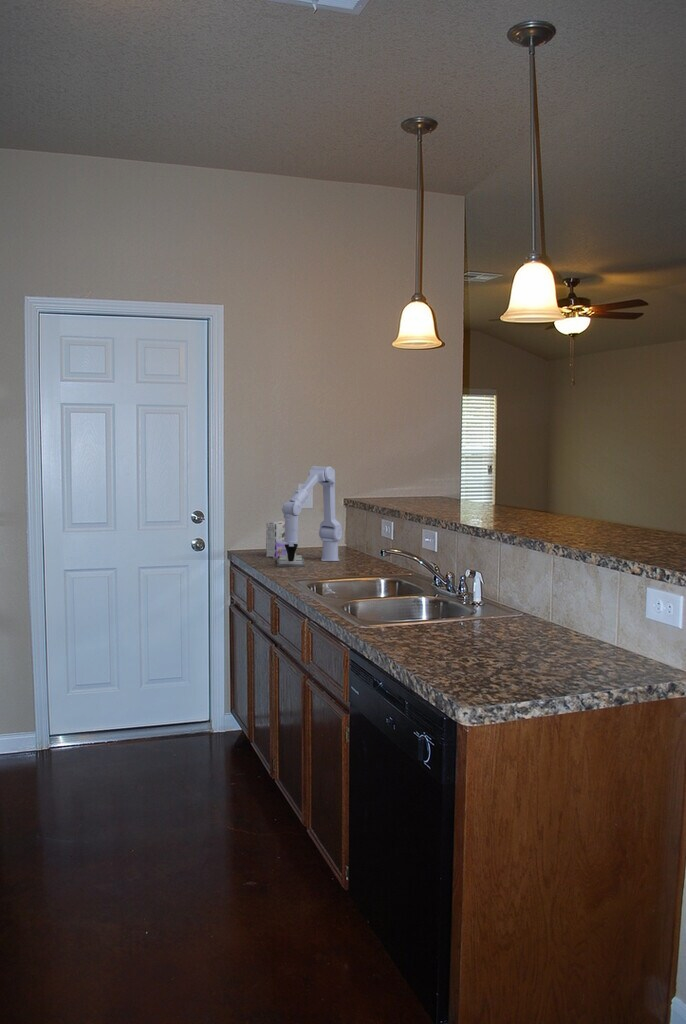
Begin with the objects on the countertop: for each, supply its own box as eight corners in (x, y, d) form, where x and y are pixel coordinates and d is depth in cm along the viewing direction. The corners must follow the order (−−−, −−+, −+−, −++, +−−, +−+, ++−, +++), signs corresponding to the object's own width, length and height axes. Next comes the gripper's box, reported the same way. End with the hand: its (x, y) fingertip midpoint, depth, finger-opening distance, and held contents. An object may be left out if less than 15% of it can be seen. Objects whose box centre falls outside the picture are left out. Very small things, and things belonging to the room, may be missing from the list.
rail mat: (277, 559, 362) (277, 555, 362) (303, 560, 363) (304, 555, 363) (276, 566, 344) (277, 561, 344) (304, 566, 345) (304, 561, 345)
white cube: (285, 561, 351) (285, 551, 350) (295, 561, 351) (296, 551, 350) (285, 562, 346) (285, 552, 346) (295, 562, 346) (296, 552, 346)
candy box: (284, 554, 381) (285, 519, 380) (294, 555, 378) (294, 520, 376) (265, 557, 370) (266, 522, 369) (275, 558, 367) (275, 522, 365)
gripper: (282, 527, 348) (281, 558, 349) (281, 531, 334) (281, 563, 335) (298, 527, 348) (297, 558, 350) (298, 531, 334) (298, 563, 335)
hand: (290, 561), depth 342 cm, fingers closed
